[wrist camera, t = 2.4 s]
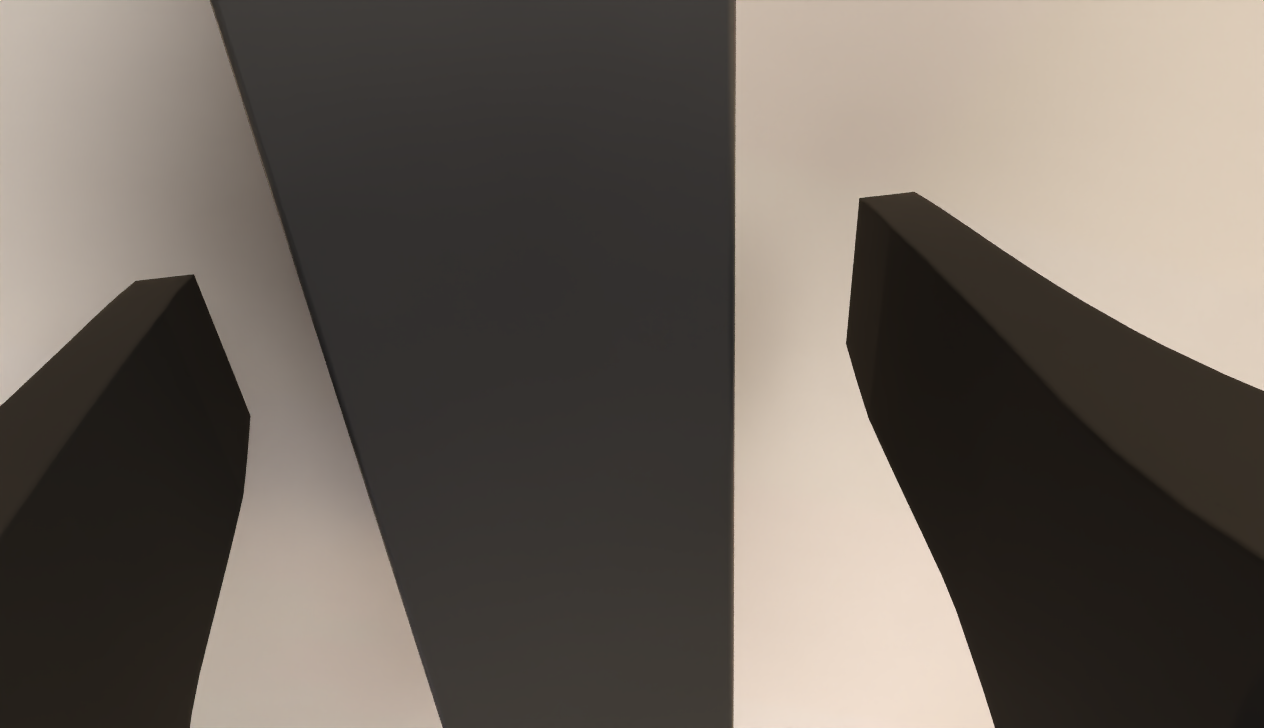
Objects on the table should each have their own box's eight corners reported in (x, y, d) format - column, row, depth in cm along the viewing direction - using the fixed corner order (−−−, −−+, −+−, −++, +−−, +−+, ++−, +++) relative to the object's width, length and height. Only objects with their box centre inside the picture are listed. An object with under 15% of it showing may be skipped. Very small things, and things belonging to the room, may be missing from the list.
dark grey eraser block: (688, 502, 18) (749, 785, 14) (459, 532, 17) (456, 828, 14) (654, -374, 10) (774, -287, 6) (241, -338, 10) (94, -224, 6)
